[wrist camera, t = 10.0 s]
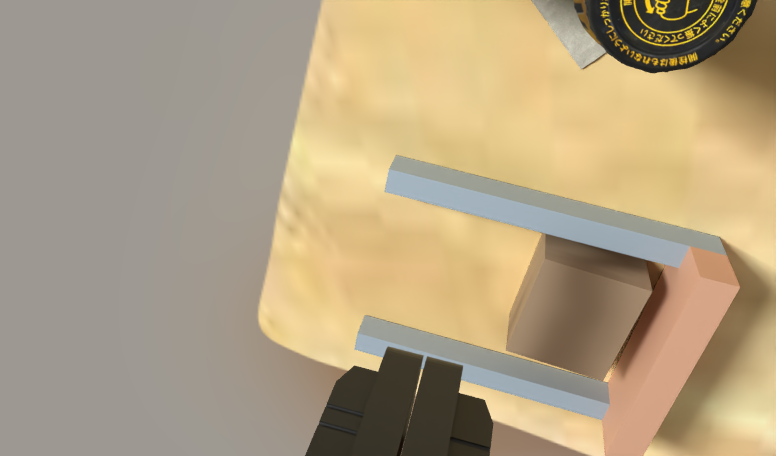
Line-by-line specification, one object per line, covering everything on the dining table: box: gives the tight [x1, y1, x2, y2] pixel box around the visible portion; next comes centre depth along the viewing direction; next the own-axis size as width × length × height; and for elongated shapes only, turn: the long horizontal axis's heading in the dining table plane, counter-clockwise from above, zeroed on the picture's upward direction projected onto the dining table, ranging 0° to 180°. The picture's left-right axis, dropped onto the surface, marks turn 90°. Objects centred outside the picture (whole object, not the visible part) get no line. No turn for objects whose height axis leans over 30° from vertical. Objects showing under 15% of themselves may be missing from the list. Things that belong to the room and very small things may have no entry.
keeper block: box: [506, 233, 652, 381], centre depth 39 cm, size 6×7×4 cm
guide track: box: [355, 155, 740, 456], centre depth 40 cm, size 19×14×5 cm
